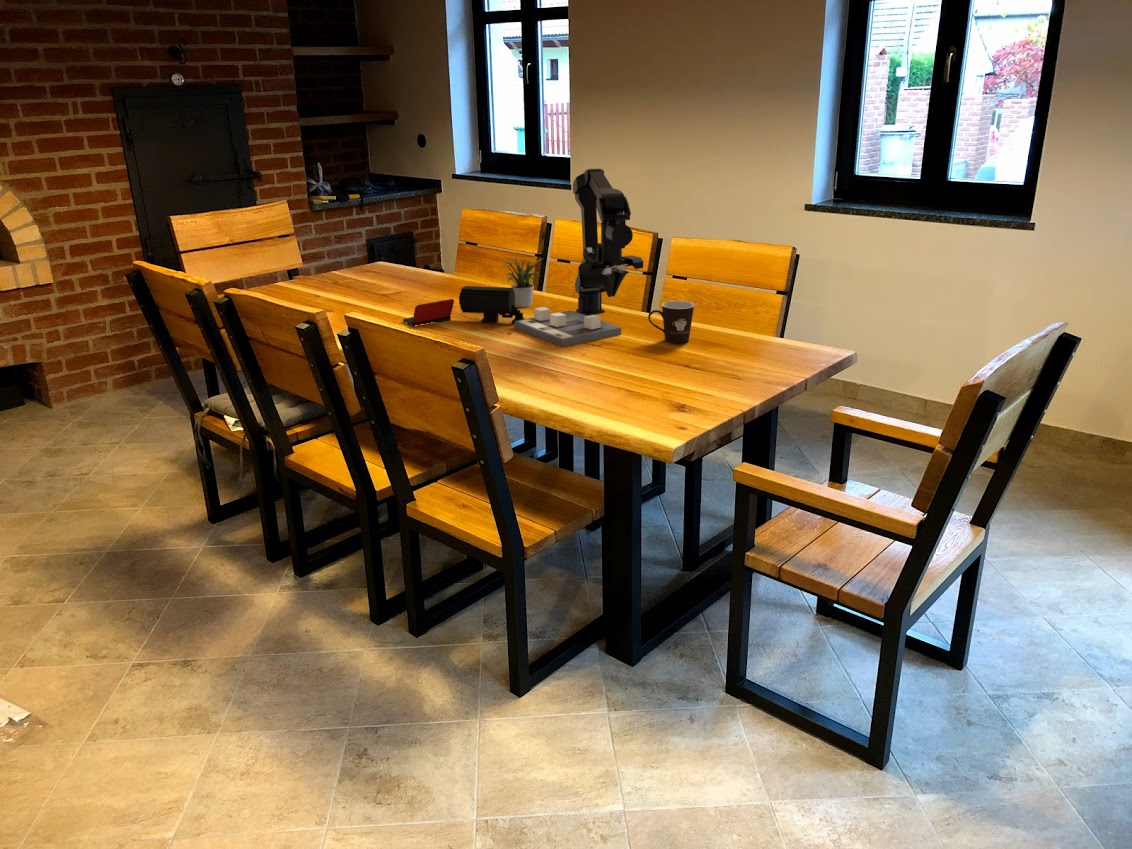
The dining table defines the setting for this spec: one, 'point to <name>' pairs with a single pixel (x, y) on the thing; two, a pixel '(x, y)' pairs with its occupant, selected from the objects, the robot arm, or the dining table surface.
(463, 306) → the security camera
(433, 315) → the handheld game console
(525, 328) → the switch bank
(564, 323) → the tab
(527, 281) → the house plant
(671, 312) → the coffee mug
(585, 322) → the tab
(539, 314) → the tab
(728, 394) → the dining table surface
